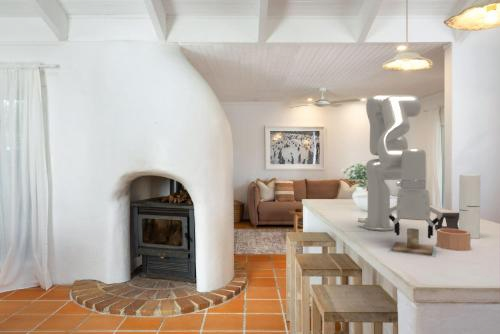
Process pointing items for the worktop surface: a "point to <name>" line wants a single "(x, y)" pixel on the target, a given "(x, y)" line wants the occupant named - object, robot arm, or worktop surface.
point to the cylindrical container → (469, 204)
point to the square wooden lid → (413, 244)
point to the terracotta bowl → (453, 239)
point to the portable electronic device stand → (448, 221)
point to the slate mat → (415, 254)
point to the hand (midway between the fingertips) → (413, 236)
